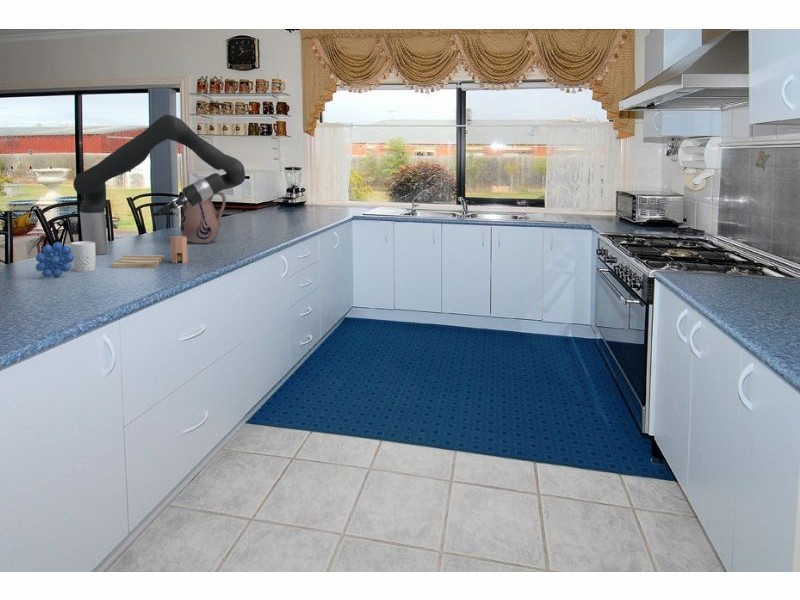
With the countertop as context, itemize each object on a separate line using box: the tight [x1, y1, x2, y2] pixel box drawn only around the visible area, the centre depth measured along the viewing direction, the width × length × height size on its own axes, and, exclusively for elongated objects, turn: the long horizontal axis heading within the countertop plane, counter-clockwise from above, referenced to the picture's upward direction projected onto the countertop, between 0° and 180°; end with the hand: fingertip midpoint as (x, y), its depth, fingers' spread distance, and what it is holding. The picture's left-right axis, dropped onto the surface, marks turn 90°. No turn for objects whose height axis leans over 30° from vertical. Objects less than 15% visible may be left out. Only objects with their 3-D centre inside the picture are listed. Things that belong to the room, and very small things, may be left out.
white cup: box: [70, 241, 97, 273], centre depth 224 cm, size 8×8×10 cm
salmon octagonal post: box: [169, 235, 189, 264], centre depth 247 cm, size 6×6×10 cm
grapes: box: [35, 241, 74, 278], centre depth 211 cm, size 12×7×12 cm, turn 125°
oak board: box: [111, 254, 165, 269], centre depth 243 cm, size 20×15×2 cm
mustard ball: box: [177, 254, 182, 263], centre depth 248 cm, size 3×3×3 cm
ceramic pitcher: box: [180, 191, 227, 244], centre depth 299 cm, size 18×21×25 cm
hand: (159, 212), depth 233 cm, fingers open, 8 cm apart
